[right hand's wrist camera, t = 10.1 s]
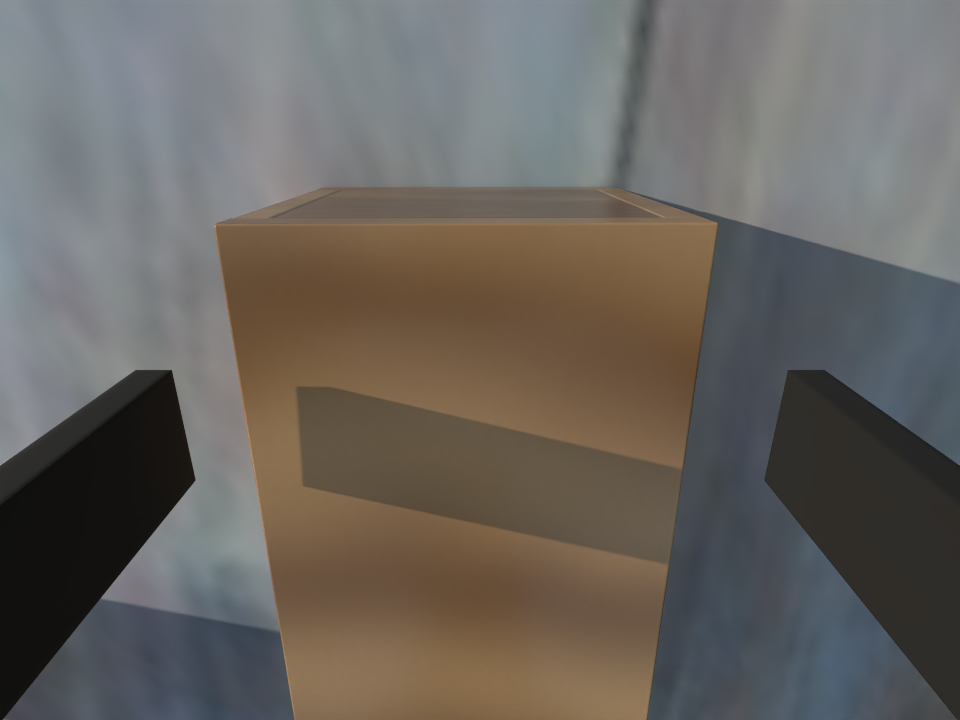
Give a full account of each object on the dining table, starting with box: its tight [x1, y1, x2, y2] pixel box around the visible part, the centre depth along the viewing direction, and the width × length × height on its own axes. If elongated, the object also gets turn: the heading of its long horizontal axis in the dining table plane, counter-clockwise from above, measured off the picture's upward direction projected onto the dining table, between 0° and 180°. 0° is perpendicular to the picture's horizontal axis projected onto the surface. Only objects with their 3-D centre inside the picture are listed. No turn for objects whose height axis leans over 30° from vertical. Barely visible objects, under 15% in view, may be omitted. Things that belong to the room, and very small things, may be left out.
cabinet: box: [214, 187, 718, 720], centre depth 20 cm, size 20×10×9 cm, turn 0°
